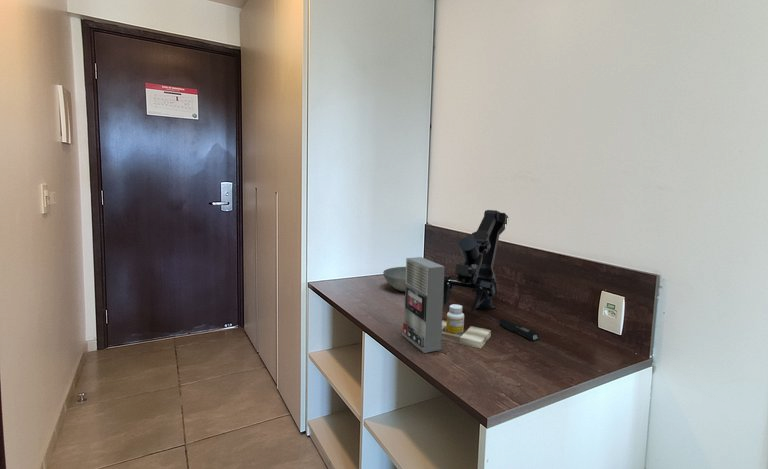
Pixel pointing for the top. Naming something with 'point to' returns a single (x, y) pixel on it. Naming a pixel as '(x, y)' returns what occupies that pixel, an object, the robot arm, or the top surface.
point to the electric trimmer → (519, 330)
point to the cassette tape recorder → (423, 304)
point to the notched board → (467, 336)
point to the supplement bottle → (455, 320)
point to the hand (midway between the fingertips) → (458, 308)
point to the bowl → (396, 277)
